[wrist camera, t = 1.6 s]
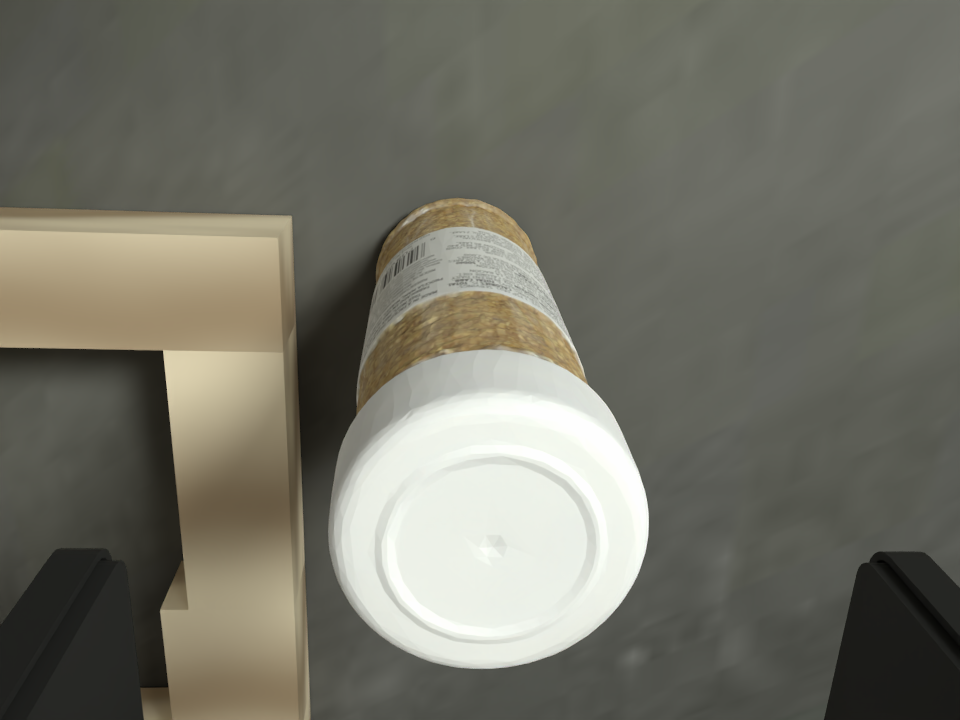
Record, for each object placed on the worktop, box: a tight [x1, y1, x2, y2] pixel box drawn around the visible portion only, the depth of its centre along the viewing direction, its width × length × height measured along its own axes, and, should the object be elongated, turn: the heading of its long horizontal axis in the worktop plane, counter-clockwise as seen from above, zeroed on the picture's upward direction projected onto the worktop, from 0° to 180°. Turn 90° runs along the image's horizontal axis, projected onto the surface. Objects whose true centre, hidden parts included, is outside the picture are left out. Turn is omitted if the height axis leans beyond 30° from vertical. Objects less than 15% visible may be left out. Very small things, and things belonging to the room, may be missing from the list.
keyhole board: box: [0, 207, 311, 720], centre depth 26 cm, size 20×14×2 cm
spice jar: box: [328, 198, 649, 669], centre depth 18 cm, size 5×5×14 cm
